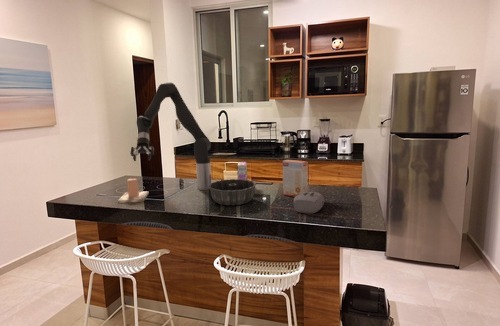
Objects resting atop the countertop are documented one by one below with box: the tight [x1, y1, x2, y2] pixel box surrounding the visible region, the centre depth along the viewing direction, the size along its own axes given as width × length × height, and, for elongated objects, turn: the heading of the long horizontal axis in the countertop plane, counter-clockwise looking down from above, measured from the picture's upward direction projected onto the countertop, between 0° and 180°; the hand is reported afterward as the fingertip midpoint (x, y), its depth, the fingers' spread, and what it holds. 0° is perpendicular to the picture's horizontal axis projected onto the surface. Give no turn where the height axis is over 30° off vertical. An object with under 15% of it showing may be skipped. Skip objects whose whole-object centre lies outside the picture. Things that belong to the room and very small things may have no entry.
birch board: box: [117, 190, 149, 204], centre depth 191 cm, size 14×18×2 cm
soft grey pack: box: [292, 191, 325, 215], centre depth 164 cm, size 15×8×20 cm
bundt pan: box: [209, 178, 257, 206], centre depth 179 cm, size 26×26×10 cm
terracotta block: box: [126, 177, 140, 197], centre depth 190 cm, size 5×5×10 cm
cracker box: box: [282, 159, 309, 198], centre depth 186 cm, size 14×6×21 cm, turn 47°
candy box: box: [236, 161, 248, 180], centre depth 208 cm, size 14×6×16 cm, turn 179°
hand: (141, 160), depth 202 cm, fingers open, 8 cm apart
